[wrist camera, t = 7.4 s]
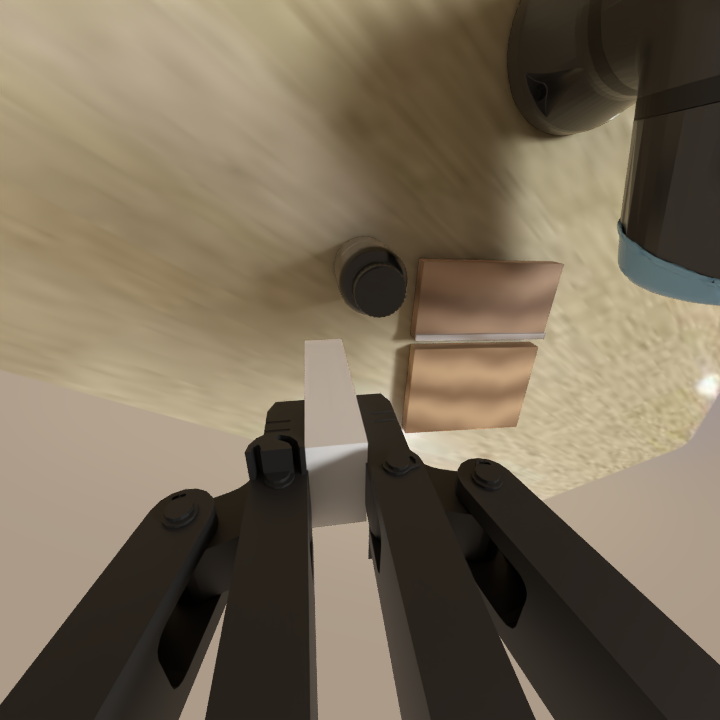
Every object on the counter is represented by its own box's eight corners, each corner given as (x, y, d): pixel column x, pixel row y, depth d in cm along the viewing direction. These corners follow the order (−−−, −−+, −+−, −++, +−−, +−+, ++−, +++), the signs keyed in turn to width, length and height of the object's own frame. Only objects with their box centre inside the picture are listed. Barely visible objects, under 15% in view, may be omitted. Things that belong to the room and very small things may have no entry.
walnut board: (419, 258, 41) (425, 262, 39) (553, 261, 44) (566, 264, 42) (410, 334, 45) (415, 341, 43) (533, 332, 48) (543, 339, 46)
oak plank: (410, 343, 46) (414, 349, 44) (529, 341, 49) (538, 347, 47) (401, 425, 52) (405, 433, 50) (509, 419, 54) (516, 426, 52)
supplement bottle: (348, 224, 38) (364, 237, 28) (399, 251, 41) (433, 272, 30) (323, 280, 41) (330, 311, 30) (373, 302, 43) (396, 339, 32)
